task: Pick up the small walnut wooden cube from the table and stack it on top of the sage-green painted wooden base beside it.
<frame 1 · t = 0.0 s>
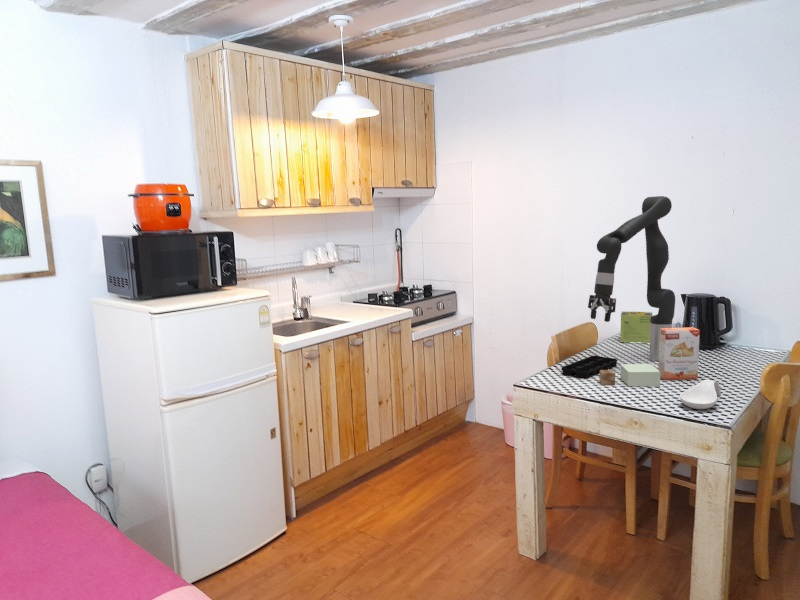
hand: (599, 320, 250), 22 cm above the table, tool pointing down, fingers open, 8 cm apart
cracker box: (677, 378, 236), on the table
spoon rest: (703, 403, 206), on the table
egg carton: (589, 371, 253), on the table
walnut cube: (607, 383, 233), on the table
stacking base: (639, 382, 232), on the table
protein box: (636, 342, 304), on the table
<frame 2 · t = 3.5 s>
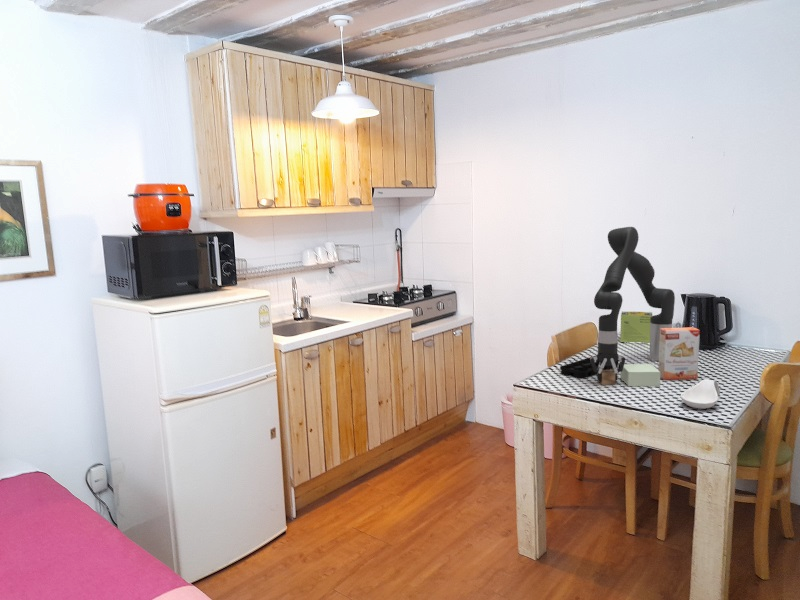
hand: (607, 381, 233), 1 cm above the table, tool pointing down, fingers closed on walnut cube, 5 cm apart
walnut cube: (607, 383, 233), on the table, touching gripper
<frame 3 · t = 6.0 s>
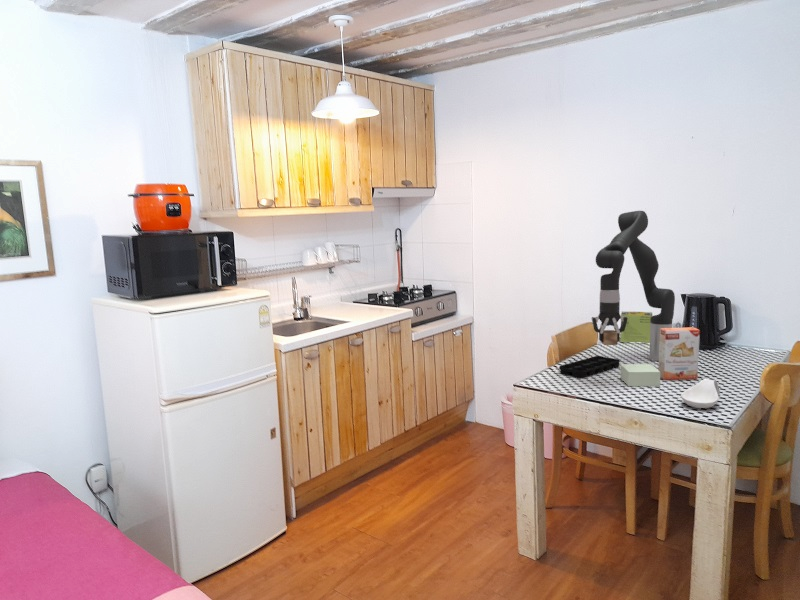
hand: (609, 341, 231), 17 cm above the table, tool pointing down, fingers closed on walnut cube, 5 cm apart
walnut cube: (609, 343, 231), point 16 cm above the table, touching gripper
when the fingers open (8 cm above the table, at t = 8.9 s): walnut cube drops 1 cm, resting on stacking base.
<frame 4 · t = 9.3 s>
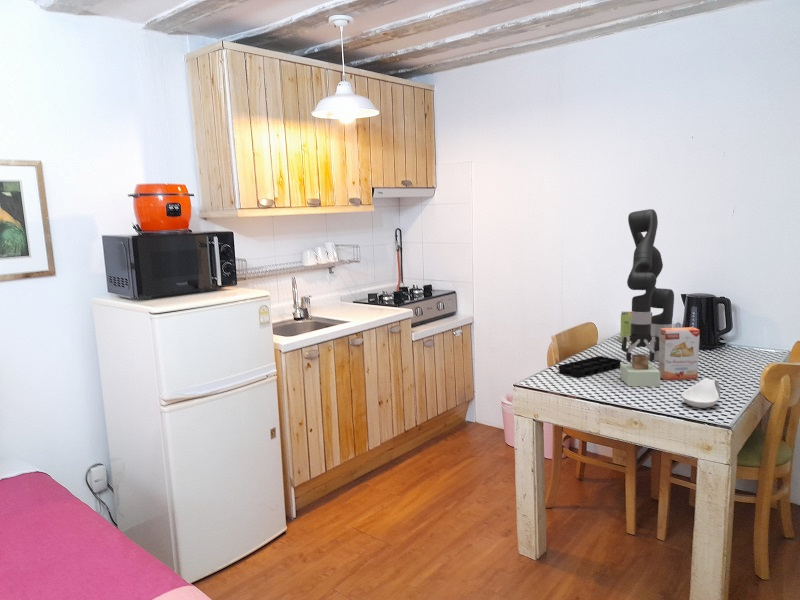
hand: (640, 361, 231), 9 cm above the table, tool pointing down, fingers open, 8 cm apart
walnut cube: (639, 367, 232), point 6 cm above the table, touching stacking base
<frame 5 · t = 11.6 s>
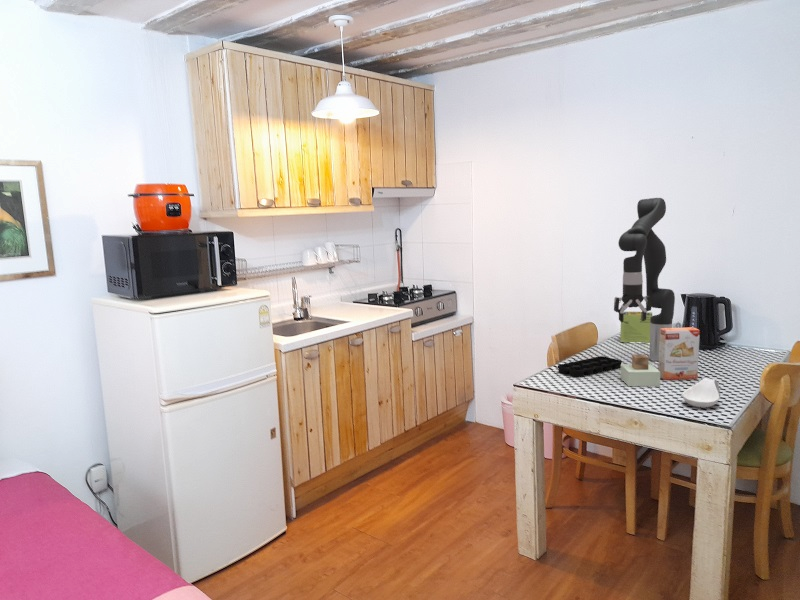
hand: (632, 321, 236), 24 cm above the table, tool pointing down, fingers open, 8 cm apart
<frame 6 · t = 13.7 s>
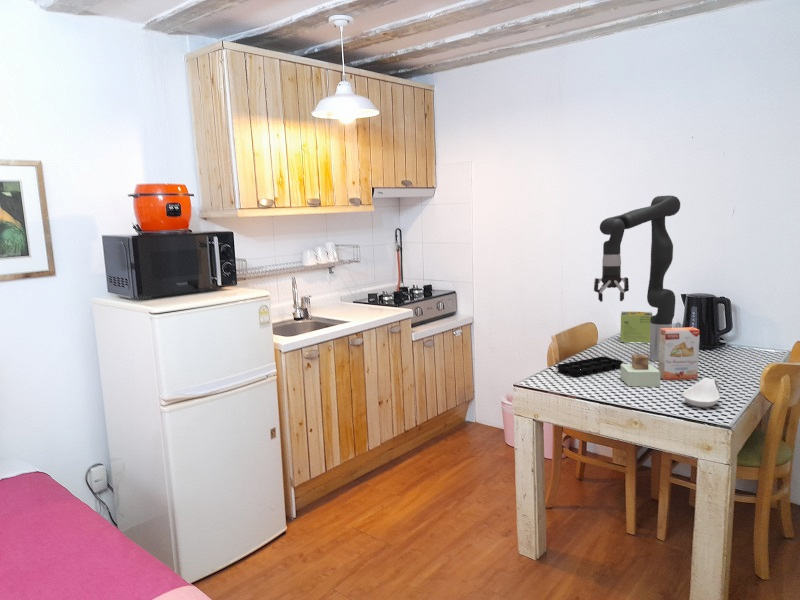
hand: (611, 301, 251), 30 cm above the table, tool pointing down, fingers open, 8 cm apart
at the end: walnut cube inside the target area on the stacking base (0.0 cm from its centre), point 6.0 cm above the stacking base's base; walnut cube tilted 0°; the gripper is holding nothing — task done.
